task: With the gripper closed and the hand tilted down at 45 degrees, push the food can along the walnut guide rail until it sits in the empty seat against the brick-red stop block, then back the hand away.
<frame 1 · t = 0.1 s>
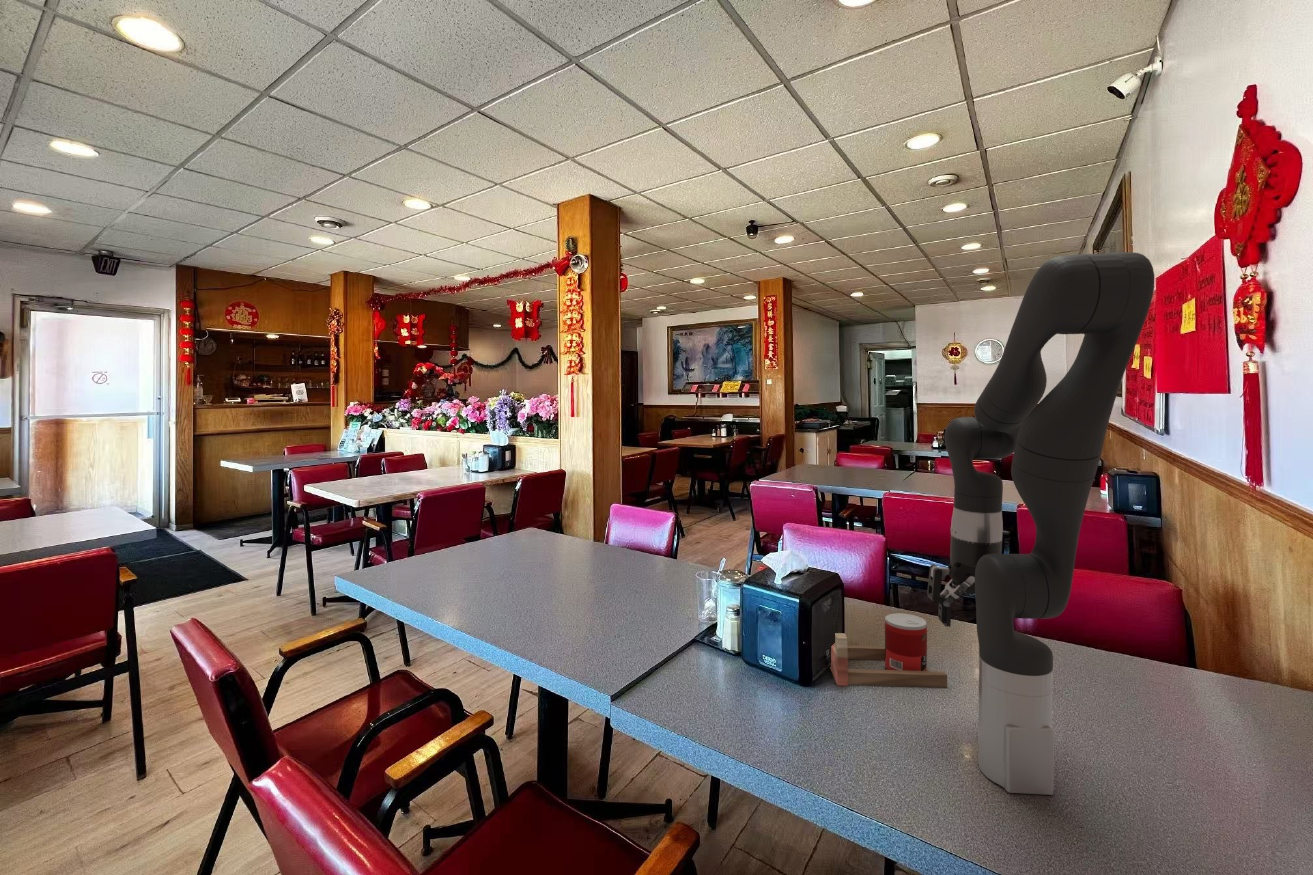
hand: (972, 625, 96), 17 cm above the table, tool pointing down, fingers open, 8 cm apart
canned food: (905, 672, 116), on the table
rail: (861, 669, 117), on the table
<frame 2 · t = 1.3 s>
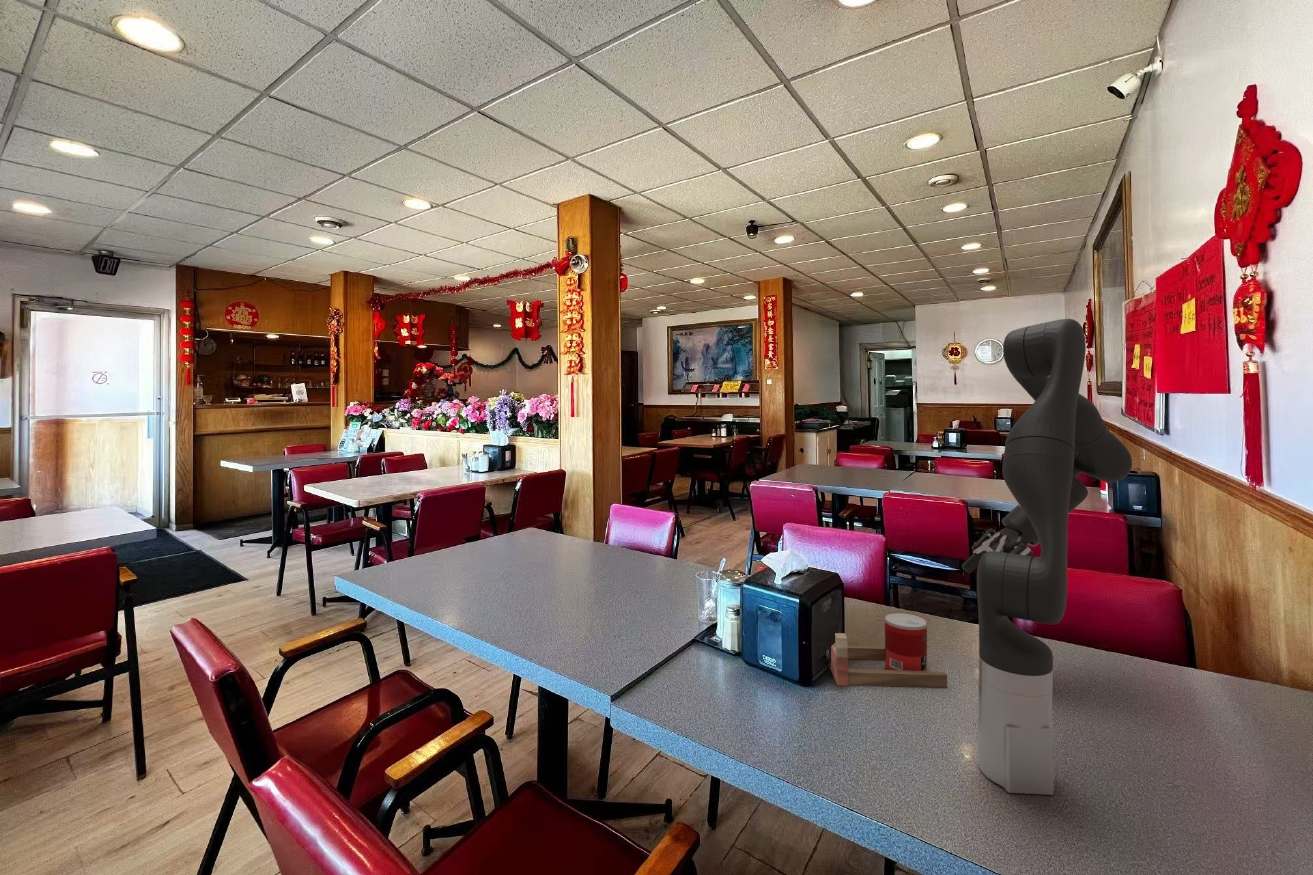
hand: (973, 574, 114), 21 cm above the table, tool tilted 45°, fingers open, 6 cm apart
nothing on the table moved.
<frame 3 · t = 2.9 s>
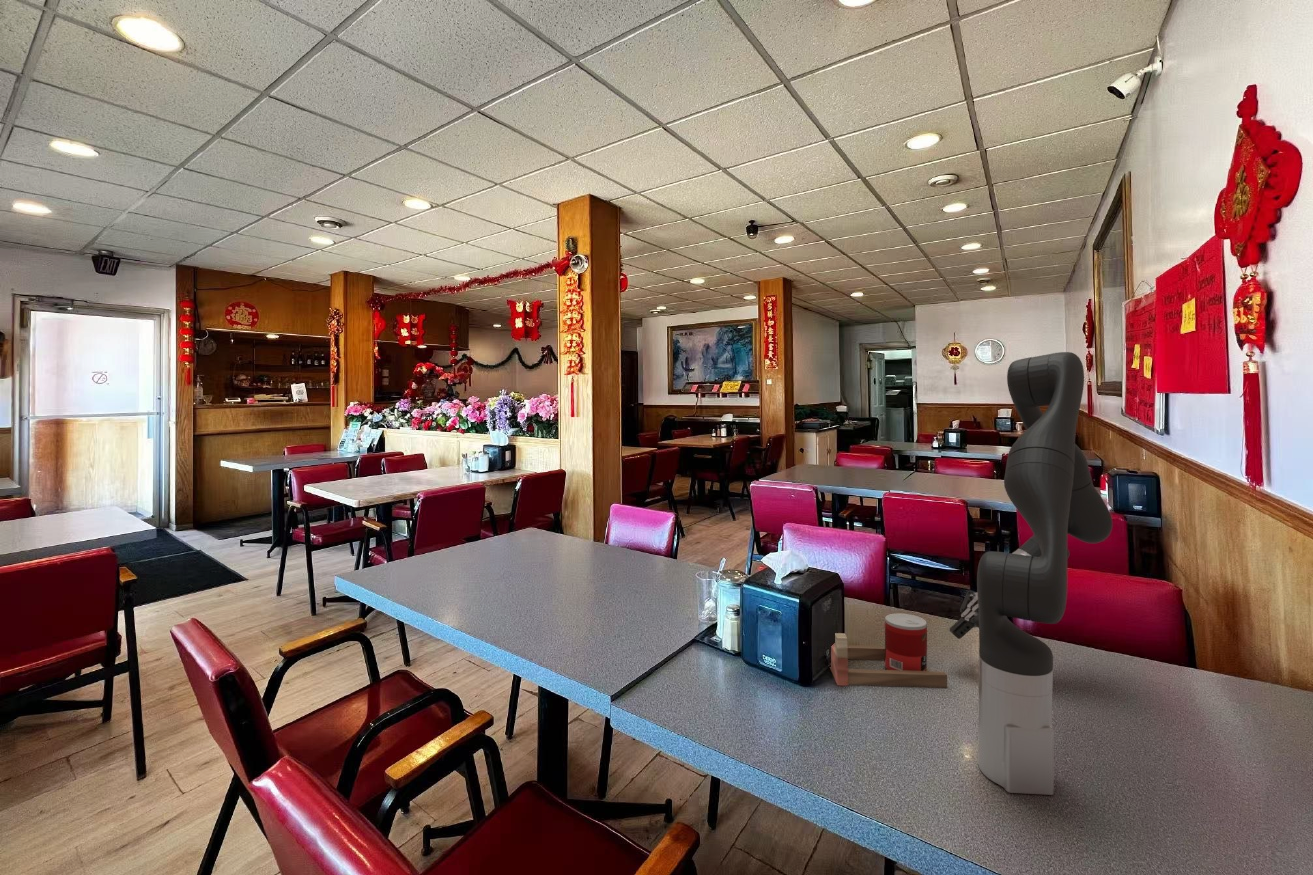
hand: (953, 634, 115), 8 cm above the table, tool tilted 45°, fingers closed
nothing on the table moved.
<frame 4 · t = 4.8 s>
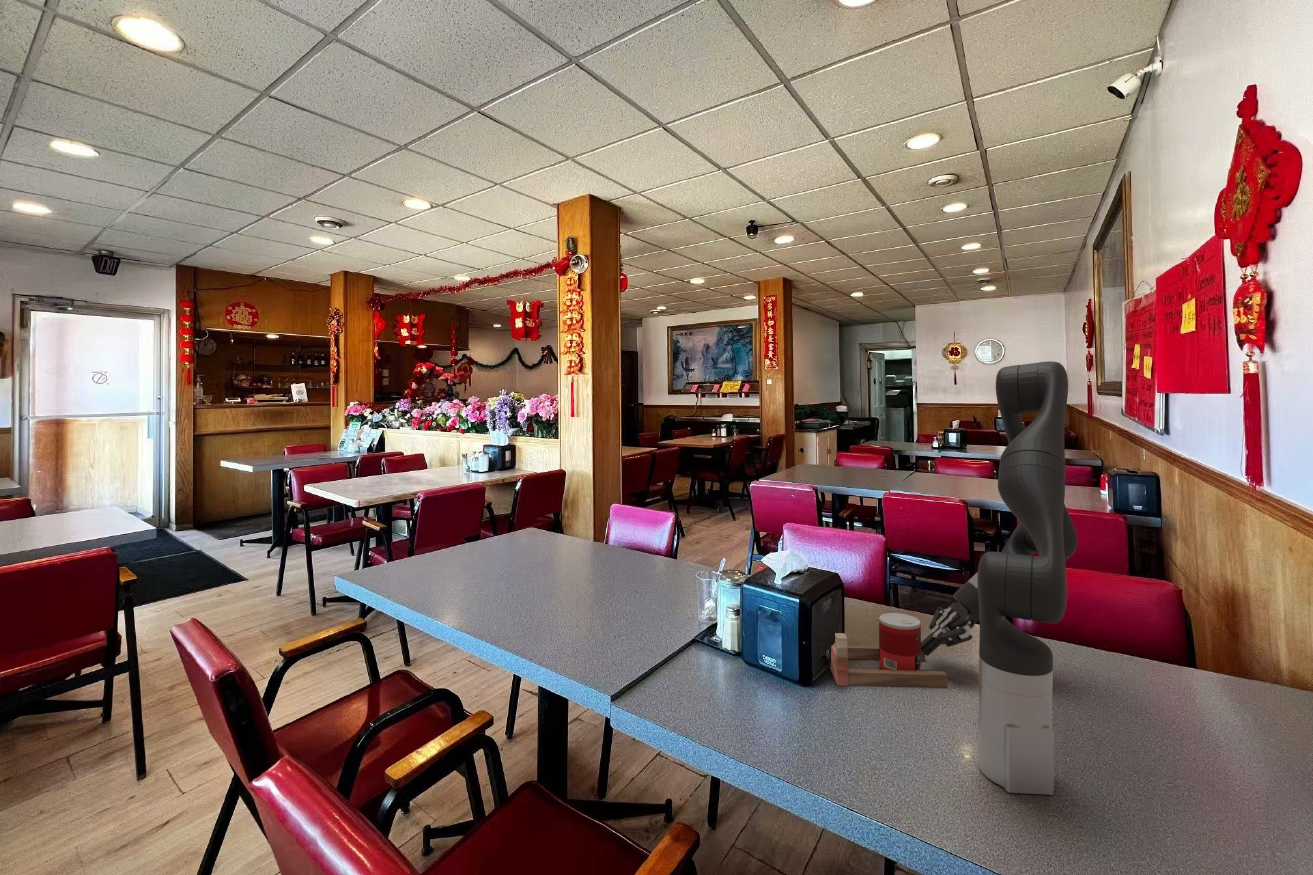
hand: (922, 651, 116), 4 cm above the table, tool tilted 45°, fingers closed
canned food: (899, 671, 116), on the table, touching gripper
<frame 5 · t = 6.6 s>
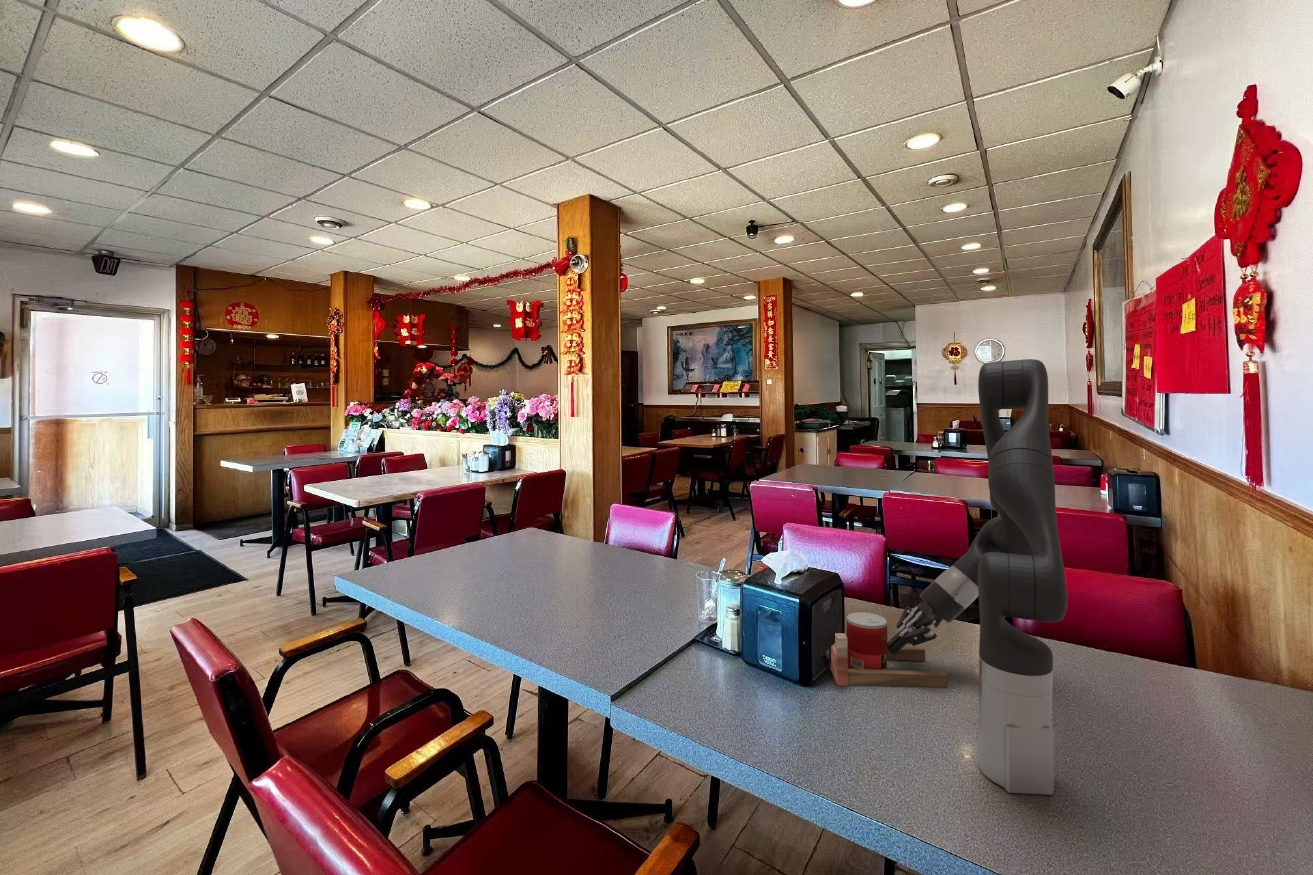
hand: (889, 650, 117), 4 cm above the table, tool tilted 45°, fingers closed
canned food: (866, 670, 117), on the table, touching gripper
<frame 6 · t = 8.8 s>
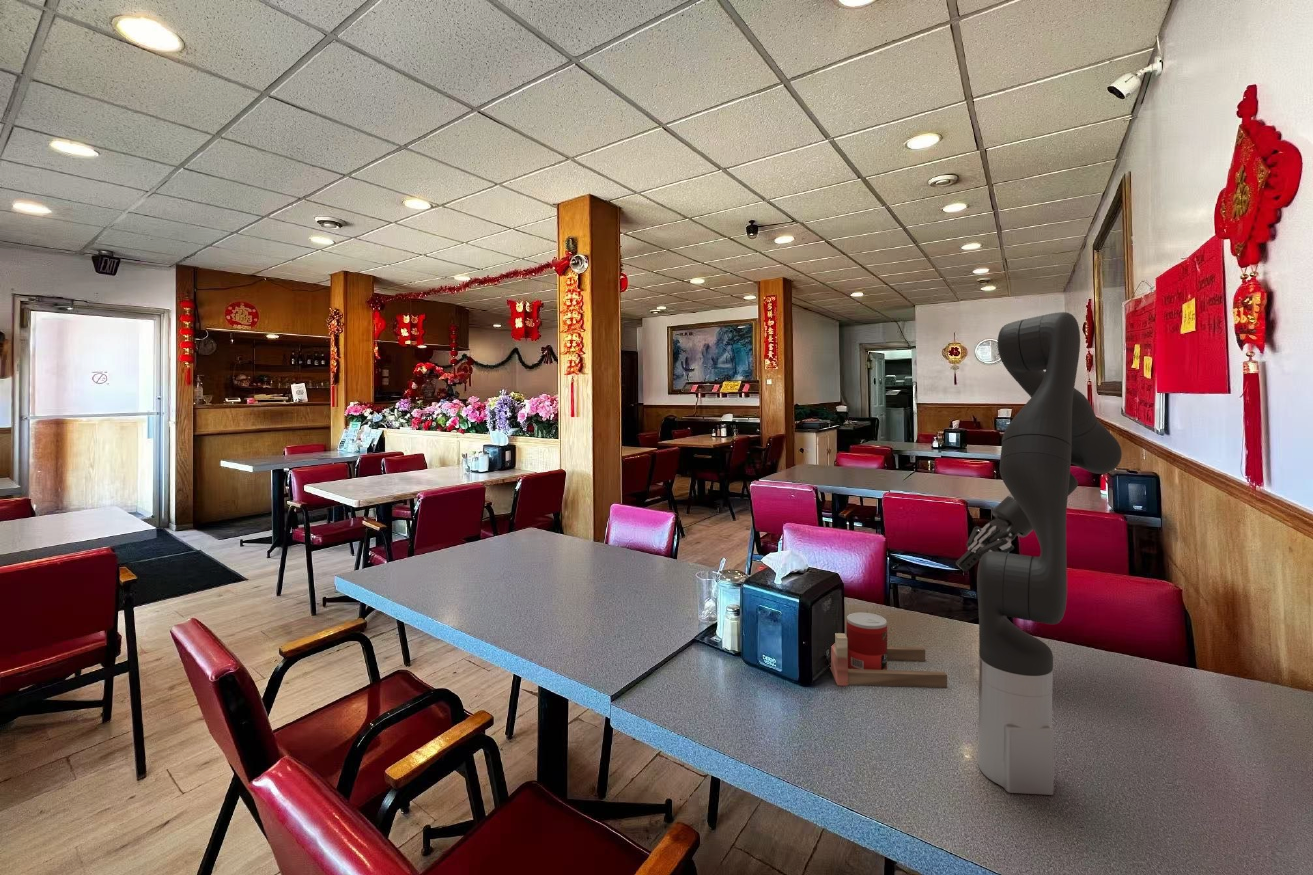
hand: (960, 567, 114), 22 cm above the table, tool tilted 45°, fingers closed
canned food: (866, 670, 117), on the table
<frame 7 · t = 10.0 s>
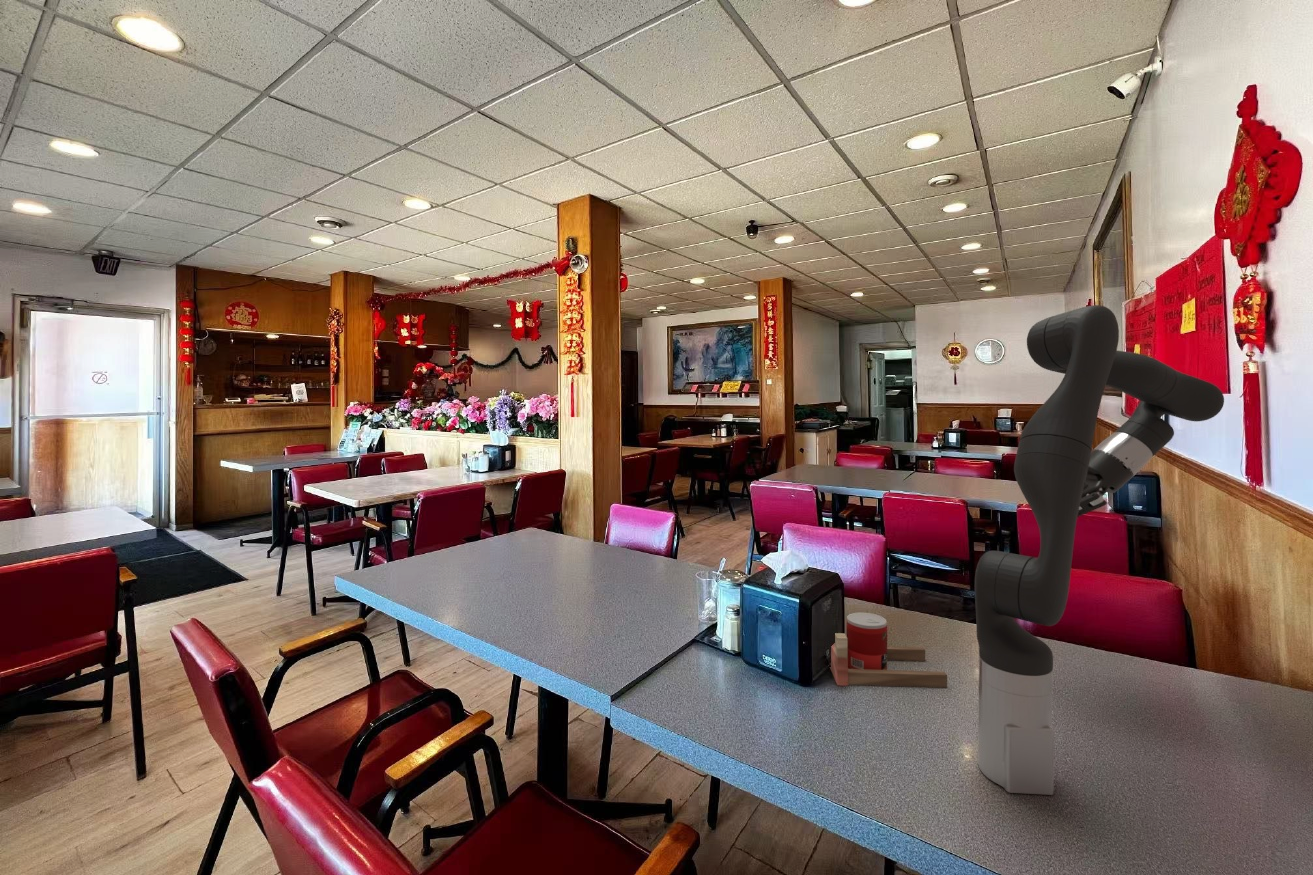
hand: (1042, 526, 106), 32 cm above the table, tool tilted 45°, fingers closed
nothing on the table moved.
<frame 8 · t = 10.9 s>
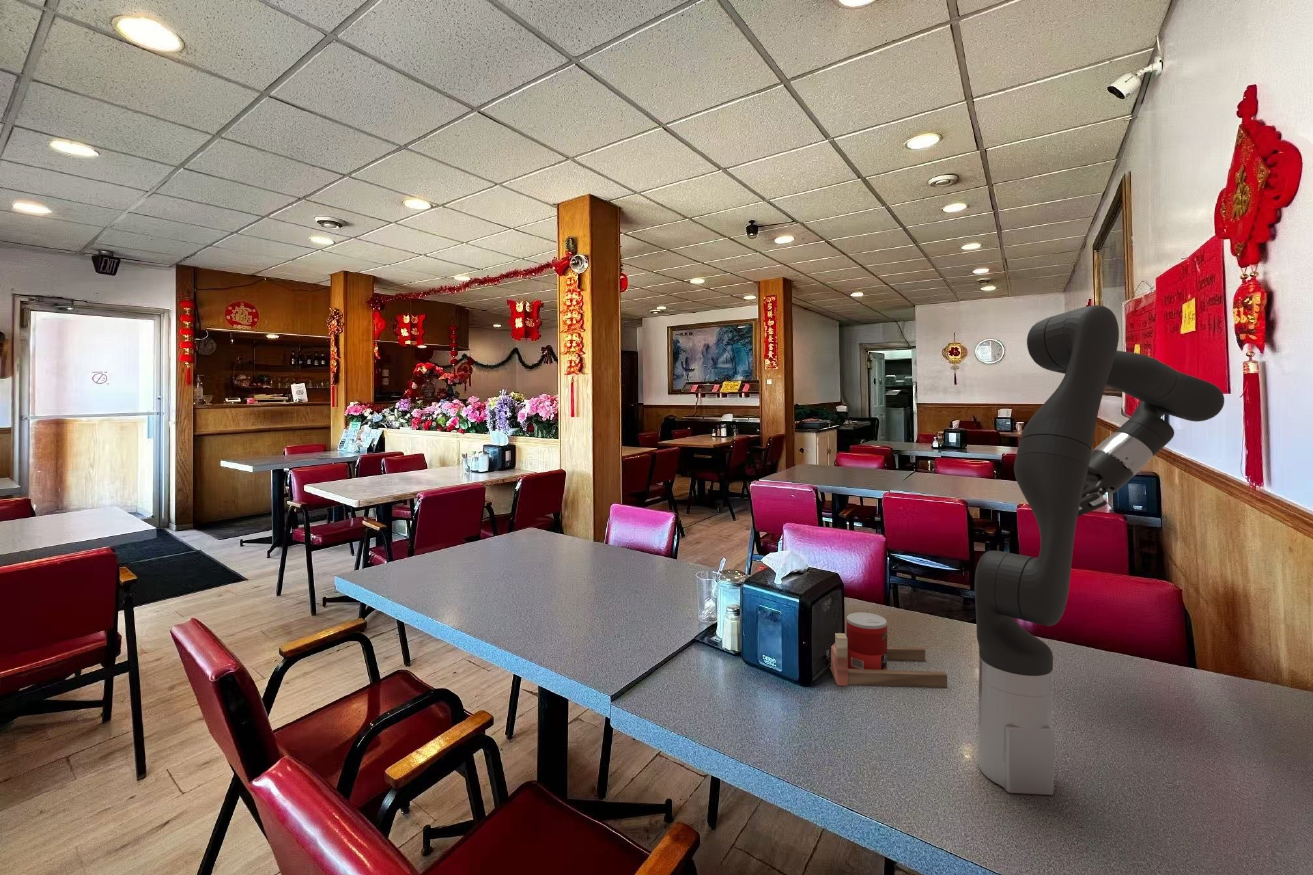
hand: (1042, 526, 106), 32 cm above the table, tool tilted 45°, fingers closed
nothing on the table moved.
at the end: canned food 1.2 cm off-centre on the rail, point 0.0 cm above the rail's base; canned food tilted 0° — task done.
